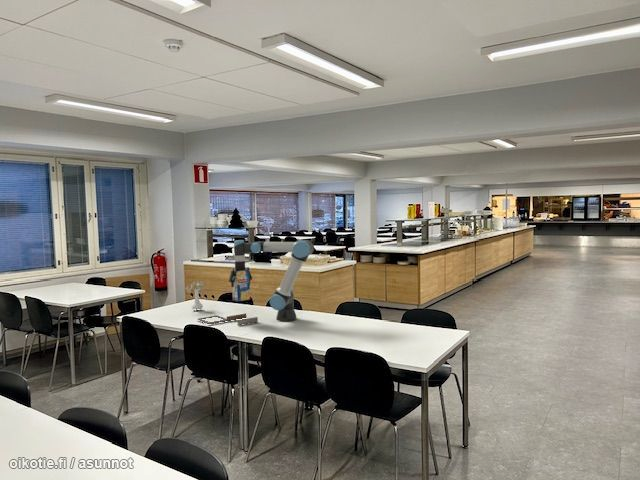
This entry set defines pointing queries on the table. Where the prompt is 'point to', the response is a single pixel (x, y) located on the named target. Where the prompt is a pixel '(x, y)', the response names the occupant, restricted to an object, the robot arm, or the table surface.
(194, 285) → the flower vase
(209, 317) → the tray
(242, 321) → the carton holder
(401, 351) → the table surface
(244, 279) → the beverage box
